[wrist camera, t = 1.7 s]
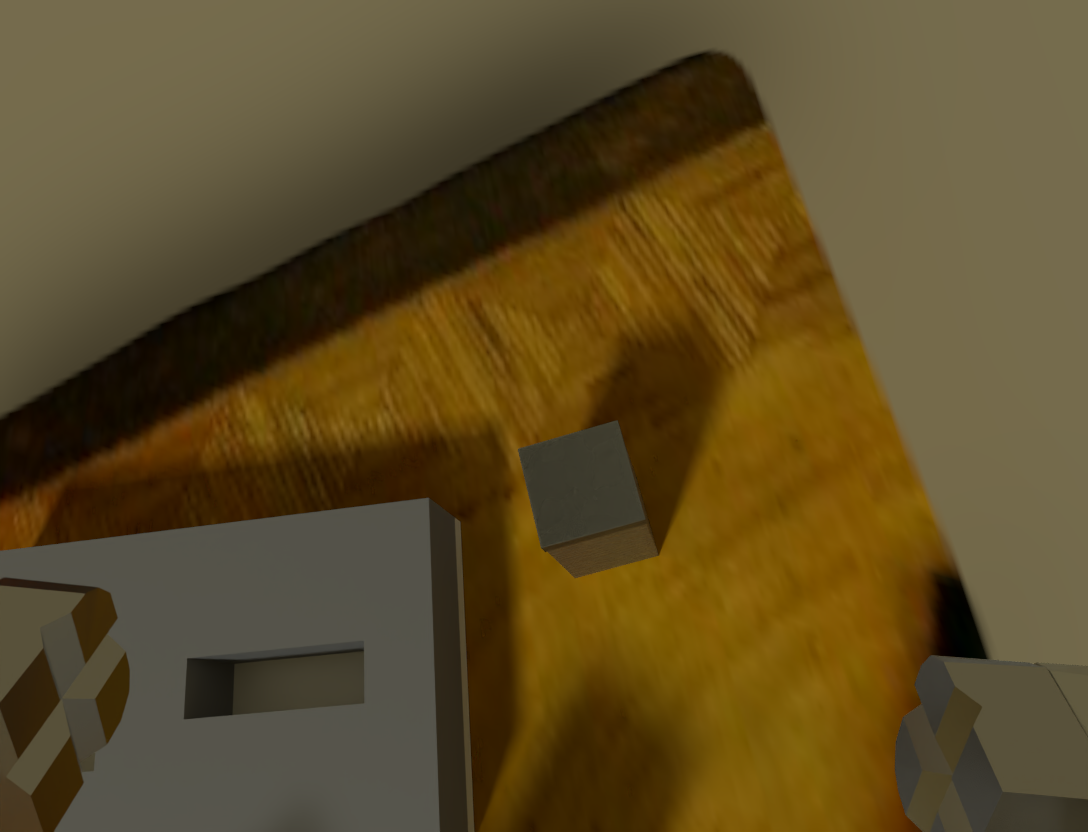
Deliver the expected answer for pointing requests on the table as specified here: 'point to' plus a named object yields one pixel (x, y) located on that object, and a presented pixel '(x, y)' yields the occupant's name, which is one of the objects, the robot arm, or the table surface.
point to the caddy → (281, 674)
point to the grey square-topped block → (587, 500)
